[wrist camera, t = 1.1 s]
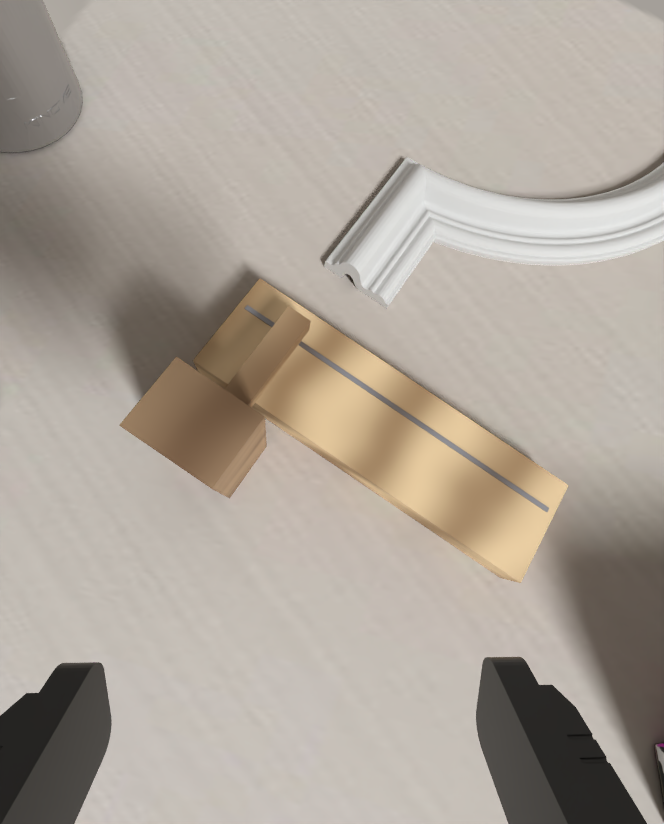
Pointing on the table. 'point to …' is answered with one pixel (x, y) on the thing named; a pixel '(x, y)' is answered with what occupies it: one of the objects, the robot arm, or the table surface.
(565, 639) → the table surface
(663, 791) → the candy bar box
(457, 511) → the plank
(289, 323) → the wooden block with tab
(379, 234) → the molding
